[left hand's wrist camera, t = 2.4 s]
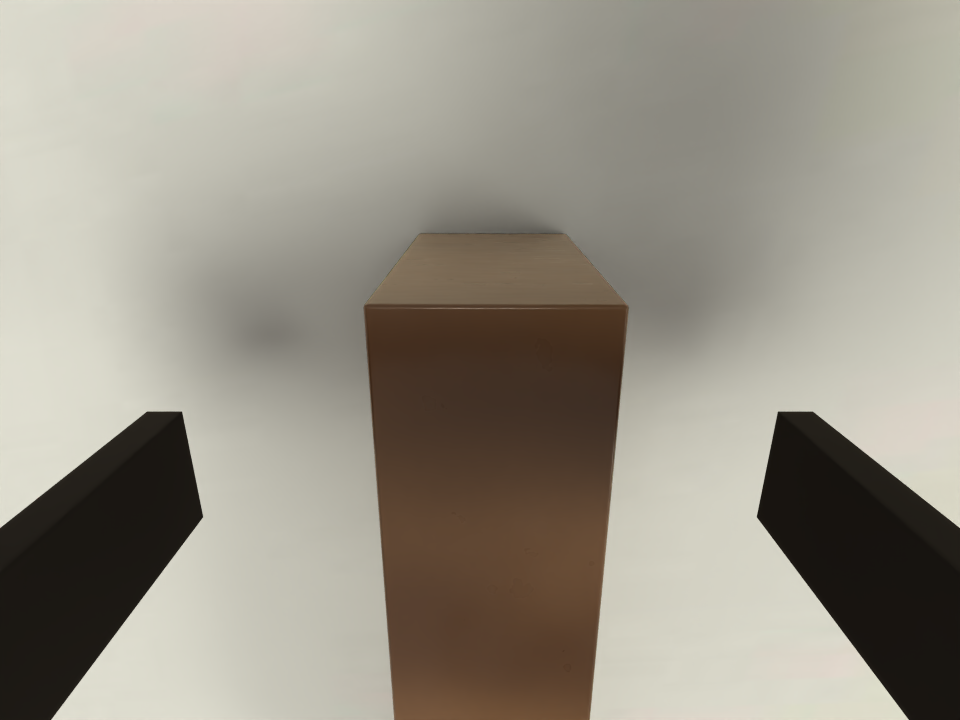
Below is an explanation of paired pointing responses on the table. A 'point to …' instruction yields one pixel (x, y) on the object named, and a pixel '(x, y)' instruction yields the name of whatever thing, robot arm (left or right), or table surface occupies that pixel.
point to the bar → (494, 471)
